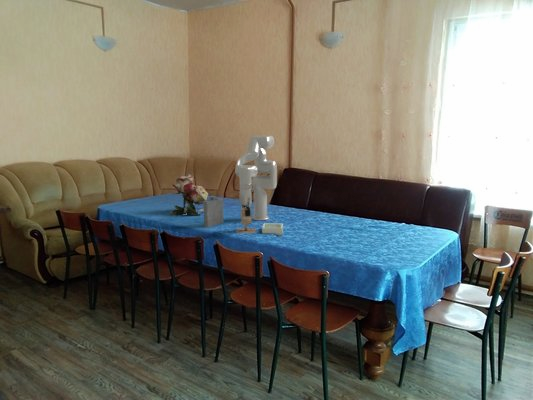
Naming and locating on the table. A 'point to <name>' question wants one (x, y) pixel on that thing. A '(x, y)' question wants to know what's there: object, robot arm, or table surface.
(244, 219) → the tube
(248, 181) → the robot arm
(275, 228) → the bin
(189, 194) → the rose bouquet
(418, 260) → the table surface
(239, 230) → the stud base
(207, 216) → the grey rectangular slab
